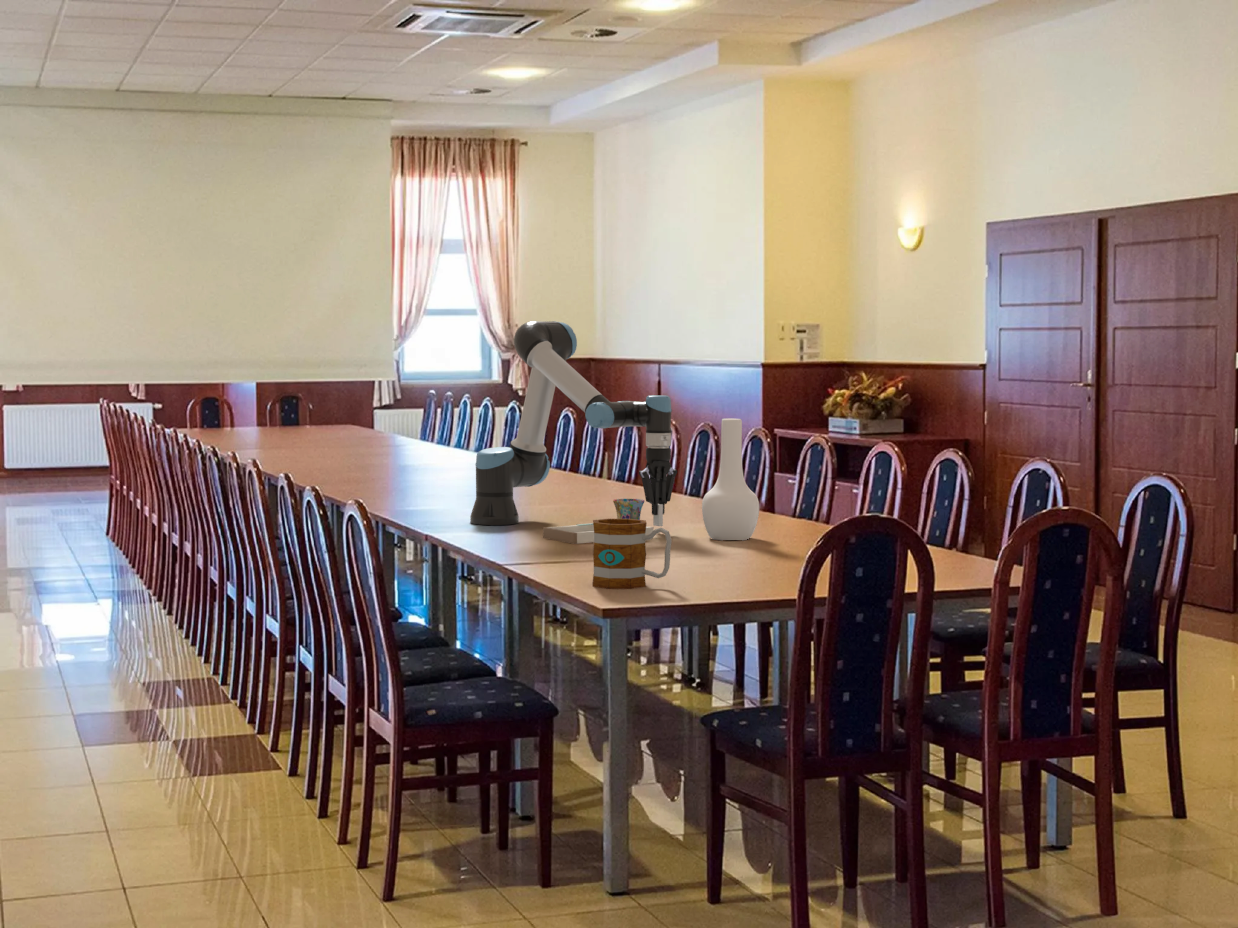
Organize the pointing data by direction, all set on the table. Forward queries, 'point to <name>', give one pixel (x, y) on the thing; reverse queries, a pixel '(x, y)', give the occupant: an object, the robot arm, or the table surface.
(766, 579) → the table surface
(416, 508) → the table surface
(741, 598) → the table surface
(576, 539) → the teal-striped rail frame
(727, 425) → the vase
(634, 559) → the mug
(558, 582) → the table surface
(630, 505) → the mug
